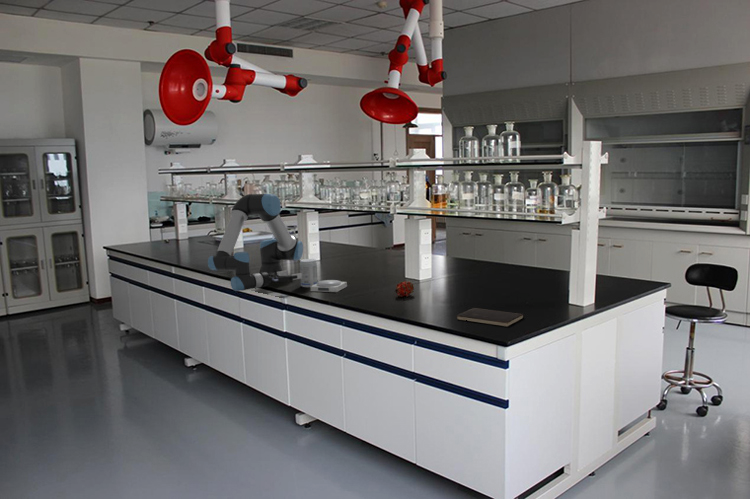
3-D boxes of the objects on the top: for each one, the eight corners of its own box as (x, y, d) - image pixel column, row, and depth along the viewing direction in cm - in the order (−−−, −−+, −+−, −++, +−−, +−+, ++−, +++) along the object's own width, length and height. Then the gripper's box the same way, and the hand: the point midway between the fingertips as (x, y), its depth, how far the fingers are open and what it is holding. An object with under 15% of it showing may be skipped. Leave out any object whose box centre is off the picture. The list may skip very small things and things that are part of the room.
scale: (321, 285, 330) (321, 279, 330) (346, 286, 325) (346, 280, 325) (310, 291, 316) (310, 284, 315) (336, 292, 311) (336, 285, 311)
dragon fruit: (415, 297, 300) (397, 304, 293) (405, 286, 304) (387, 293, 297) (420, 286, 294) (402, 293, 287) (410, 274, 299) (392, 281, 292)
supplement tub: (313, 283, 336) (312, 258, 334) (320, 286, 328) (319, 260, 326) (298, 285, 332) (296, 259, 330) (304, 288, 323) (303, 262, 321)
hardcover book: (507, 328, 235) (507, 322, 235) (456, 320, 249) (456, 315, 249) (523, 319, 248) (523, 313, 247) (474, 312, 261) (474, 307, 261)
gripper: (248, 284, 318) (281, 278, 332) (273, 290, 300) (307, 283, 314) (247, 270, 317) (281, 265, 331) (272, 275, 299) (306, 269, 313)
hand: (294, 274), depth 322 cm, fingers open, 13 cm apart
